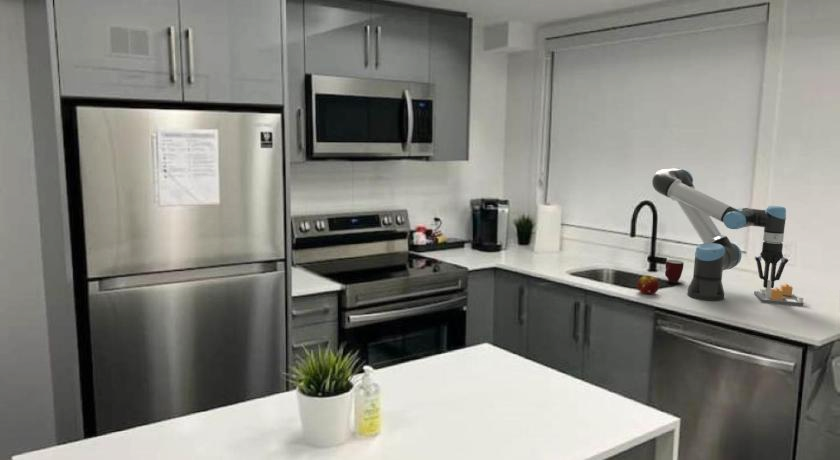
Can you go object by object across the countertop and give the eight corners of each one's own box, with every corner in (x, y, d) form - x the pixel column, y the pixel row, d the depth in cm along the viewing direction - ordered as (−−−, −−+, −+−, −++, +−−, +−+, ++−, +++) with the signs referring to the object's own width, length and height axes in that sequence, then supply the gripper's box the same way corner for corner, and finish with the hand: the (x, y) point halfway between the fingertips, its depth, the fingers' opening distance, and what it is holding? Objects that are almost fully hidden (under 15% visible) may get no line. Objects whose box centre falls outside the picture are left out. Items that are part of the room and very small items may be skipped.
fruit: (649, 297, 270) (650, 280, 268) (632, 292, 277) (633, 275, 276) (662, 294, 275) (663, 277, 273) (645, 289, 282) (646, 272, 281)
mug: (675, 285, 290) (677, 265, 289) (658, 281, 296) (660, 262, 294) (684, 281, 297) (686, 261, 296) (668, 278, 303) (670, 259, 301)
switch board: (761, 302, 264) (762, 295, 263) (754, 294, 277) (754, 286, 276) (803, 306, 259) (804, 298, 258) (793, 297, 272) (794, 290, 272)
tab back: (781, 295, 270) (782, 284, 269) (779, 293, 273) (780, 283, 272) (791, 295, 269) (792, 285, 268) (789, 294, 272) (790, 283, 271)
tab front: (771, 299, 263) (772, 288, 262) (769, 297, 266) (771, 286, 265) (782, 300, 262) (783, 289, 261) (780, 298, 265) (781, 287, 264)
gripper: (758, 242, 259) (752, 295, 263) (792, 244, 255) (786, 298, 259) (754, 239, 266) (749, 291, 270) (787, 241, 262) (782, 294, 266)
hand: (767, 294), depth 264 cm, fingers closed
